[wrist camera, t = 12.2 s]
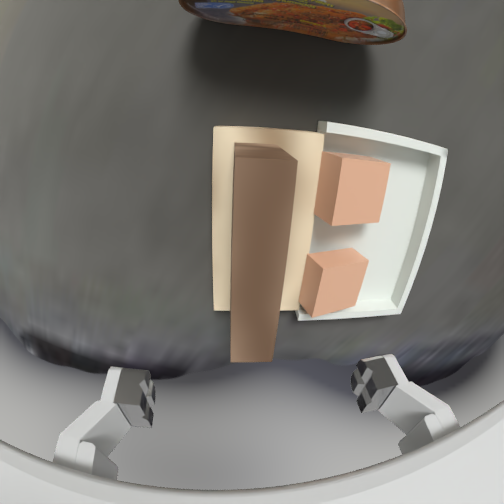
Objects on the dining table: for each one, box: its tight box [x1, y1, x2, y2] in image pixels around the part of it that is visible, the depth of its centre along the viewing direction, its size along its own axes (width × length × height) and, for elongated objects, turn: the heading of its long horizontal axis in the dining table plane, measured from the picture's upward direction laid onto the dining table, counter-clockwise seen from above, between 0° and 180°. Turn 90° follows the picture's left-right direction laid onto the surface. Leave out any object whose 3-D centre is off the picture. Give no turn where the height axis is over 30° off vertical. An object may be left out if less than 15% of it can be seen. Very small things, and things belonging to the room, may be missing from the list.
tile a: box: [314, 151, 391, 226], centre depth 20 cm, size 5×5×2 cm
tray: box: [295, 120, 448, 321], centre depth 24 cm, size 12×18×2 cm, turn 177°
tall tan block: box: [230, 142, 298, 362], centre depth 19 cm, size 3×14×7 cm, turn 177°
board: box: [212, 126, 325, 311], centre depth 23 cm, size 8×16×2 cm, turn 177°
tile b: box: [299, 248, 369, 318], centre depth 24 cm, size 5×5×2 cm
